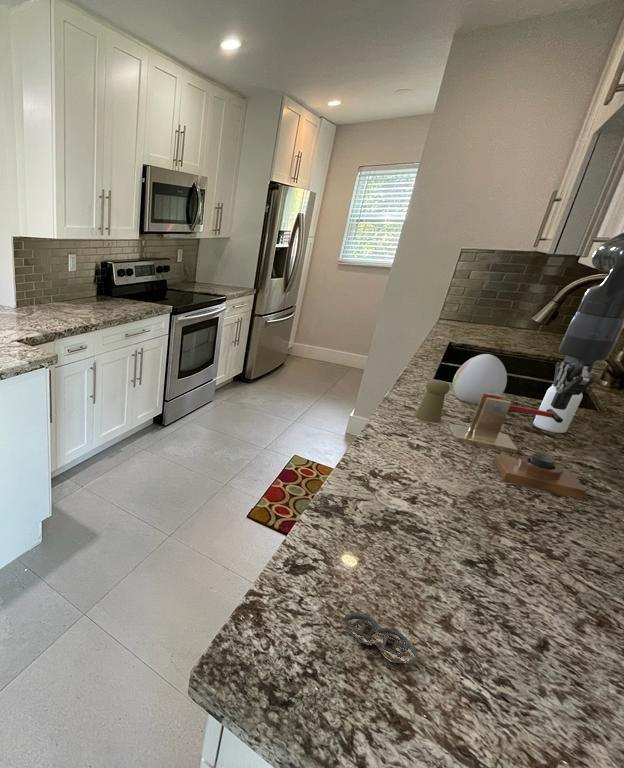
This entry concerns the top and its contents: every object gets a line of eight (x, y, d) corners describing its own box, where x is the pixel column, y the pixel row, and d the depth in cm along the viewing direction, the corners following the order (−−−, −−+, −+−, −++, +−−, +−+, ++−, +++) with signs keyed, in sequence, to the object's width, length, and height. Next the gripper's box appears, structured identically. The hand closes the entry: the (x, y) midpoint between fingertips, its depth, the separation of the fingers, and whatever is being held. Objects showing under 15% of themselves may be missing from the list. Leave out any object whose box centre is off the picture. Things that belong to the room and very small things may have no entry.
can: (564, 436, 107) (584, 393, 102) (530, 427, 111) (548, 386, 107) (567, 429, 111) (586, 388, 106) (534, 420, 115) (551, 381, 111)
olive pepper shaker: (439, 416, 117) (451, 380, 113) (442, 424, 112) (455, 386, 108) (413, 411, 120) (424, 376, 116) (415, 418, 115) (427, 382, 111)
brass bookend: (505, 438, 105) (523, 396, 101) (516, 454, 98) (535, 409, 93) (447, 427, 110) (462, 386, 106) (453, 440, 103) (469, 397, 99)
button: (548, 463, 87) (552, 456, 86) (555, 471, 84) (558, 464, 83) (526, 458, 88) (529, 451, 88) (531, 466, 85) (535, 459, 85)
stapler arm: (550, 416, 98) (555, 407, 97) (560, 425, 93) (565, 416, 92) (482, 402, 104) (485, 394, 103) (487, 411, 99) (491, 402, 98)
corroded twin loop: (348, 610, 56) (350, 604, 56) (418, 648, 51) (421, 642, 51) (337, 635, 53) (339, 629, 52) (412, 679, 48) (414, 673, 47)
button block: (564, 478, 88) (571, 462, 87) (581, 500, 81) (590, 483, 80) (492, 462, 94) (498, 446, 92) (502, 481, 87) (509, 465, 85)
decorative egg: (473, 392, 135) (489, 348, 130) (509, 408, 124) (528, 360, 118) (438, 392, 134) (453, 348, 129) (471, 408, 123) (489, 360, 117)
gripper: (632, 344, 81) (593, 422, 88) (601, 331, 92) (568, 402, 98) (580, 339, 85) (545, 414, 91) (555, 327, 96) (526, 395, 102)
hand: (557, 407), depth 95 cm, fingers closed
